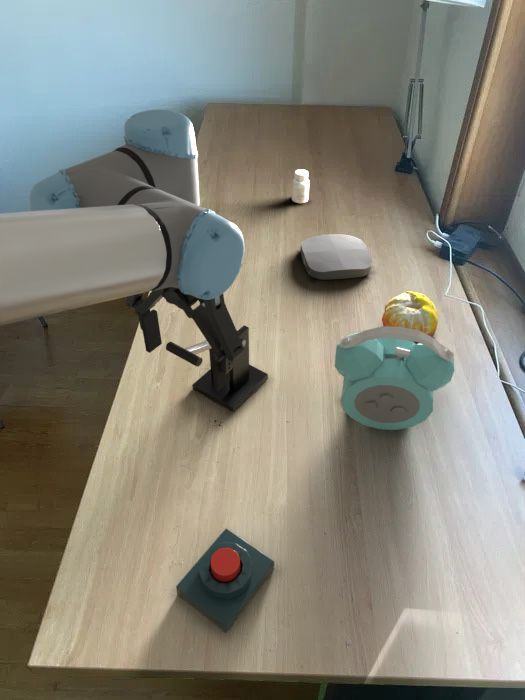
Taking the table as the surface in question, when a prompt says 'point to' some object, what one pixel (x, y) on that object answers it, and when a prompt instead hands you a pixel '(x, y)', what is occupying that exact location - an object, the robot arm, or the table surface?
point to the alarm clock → (391, 376)
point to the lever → (189, 351)
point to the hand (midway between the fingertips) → (186, 365)
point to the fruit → (411, 313)
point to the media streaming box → (335, 256)
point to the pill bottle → (300, 186)
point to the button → (225, 565)
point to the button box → (225, 597)
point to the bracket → (233, 379)
